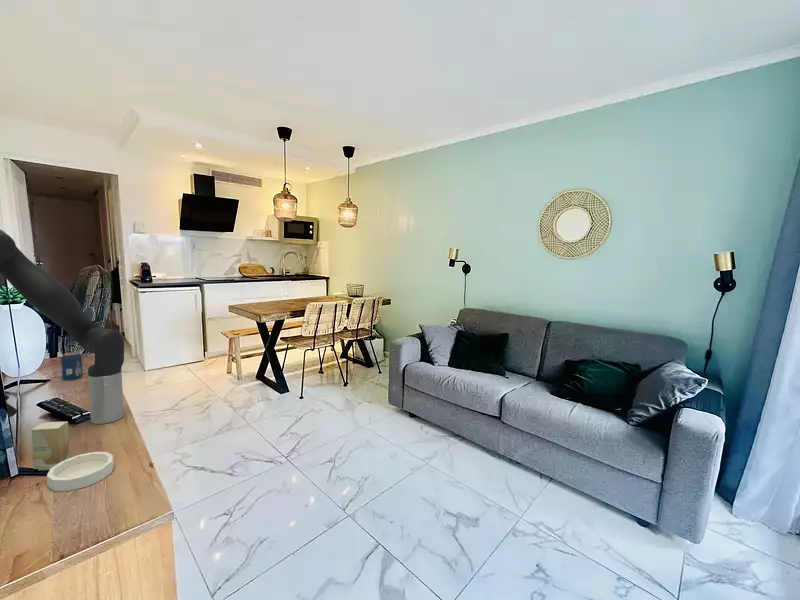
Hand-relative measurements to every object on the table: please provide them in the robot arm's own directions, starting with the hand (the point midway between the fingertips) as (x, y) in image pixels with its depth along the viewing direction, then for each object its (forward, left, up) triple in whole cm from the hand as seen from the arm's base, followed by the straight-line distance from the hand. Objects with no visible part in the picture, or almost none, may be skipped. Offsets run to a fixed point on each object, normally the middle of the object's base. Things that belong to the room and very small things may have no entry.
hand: (3, 421), depth 94 cm
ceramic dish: (+19, +9, -14) cm, 25 cm away
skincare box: (+7, +7, -15) cm, 18 cm away
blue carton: (-71, +41, -15) cm, 83 cm away
